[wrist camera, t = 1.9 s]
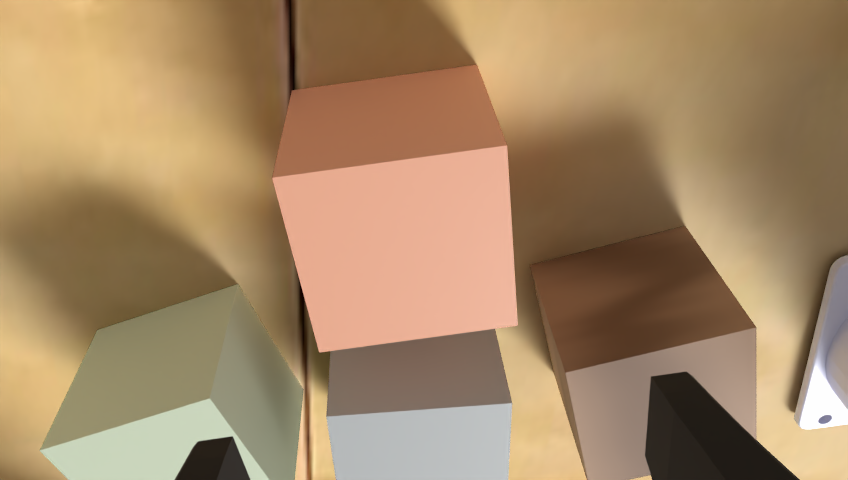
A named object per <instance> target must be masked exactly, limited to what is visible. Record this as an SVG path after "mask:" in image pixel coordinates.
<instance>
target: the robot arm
mask: <svg viewBox="0 0 848 480" xmlns="http://www.w3.org/2000/svg"><path fill="white" fill-rule="evenodd" d="M794 419H795V421H796V422H797V424H798V425H799V427H800V428H802V429H816V428H823V427H830V426H838V425H845V424H848V255H846V256H843V257H840V258H839V259H837V260H836V261H835V262H834V263H833V264H832V266H831V268H830V271H829V275H828V279H827V283H826V287H825V291H824V296H823V300H822V304H821V308H820V312H819V316H818V320H817V324H816V329H815V333H814V337H813V341H812V345H811V349H810V353H809V357H808V362H807V366H806V370H805V374H804V378H803V382H802V386H801V390H800V395H799V399H798V403H797V407H796V411H795V415H794ZM645 458H646V461H647V464H648V467H649V470H650V474H651V477H652V480H799V479H798V478H797V477H796V476H795V475H794V474H793V473H792V472H790V471H789V470H788V469H787V468H786V467H785V466H784V465H783V464H782V463H781V462H780V461H778V460H777V459H776V458H775V457H774V456H773V455H772V454H771V453H770V452H769V451H767V450H766V449H765V448H764V447H763V446H762V445H761V444H760V443H759V442H758V441H757V440H756V439H755V438H754V437H753V436H752V435H751V434H749V433H748V432H747V431H746V430H745V429H744V428H743V427H742V426H741V425H740V424H739V423H738V422H737V421H736V420H735V419H734V418H733V417H732V416H731V415H730V414H729V413H728V412H727V411H726V410H725V409H724V408H723V407H722V406H721V405H720V404H719V403H718V402H717V401H716V400H715V399H714V398H713V397H712V396H711V395H710V394H709V393H708V392H707V391H706V389H705V388H704V387H703V386H702V385H701V384H700V383H699V382H698V381H697V380H696V379H695V378H694V377H693V376H692V375H691V374H689V373H688V372H687V371H686V372H679V373H672V374H665V375H658V376H651V381H650V394H649V408H648V421H647V434H646V448H645ZM175 480H250V477H249V475H248V472H247V470H246V467H245V465H244V463H243V460H242V458H241V455H240V453H239V450H238V448H237V445H236V443H235V440H234V438H233V436H231V437H224V438H217V439H210V440H203V441H198V442H197V443H196V444H195V445H194V446H193V448H192V450H191V452H190V453H189V455H188V457H187V459H186V460H185V462H184V464H183V466H182V467H181V469H180V471H179V473H178V474H177V476H176V478H175Z"/></svg>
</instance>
